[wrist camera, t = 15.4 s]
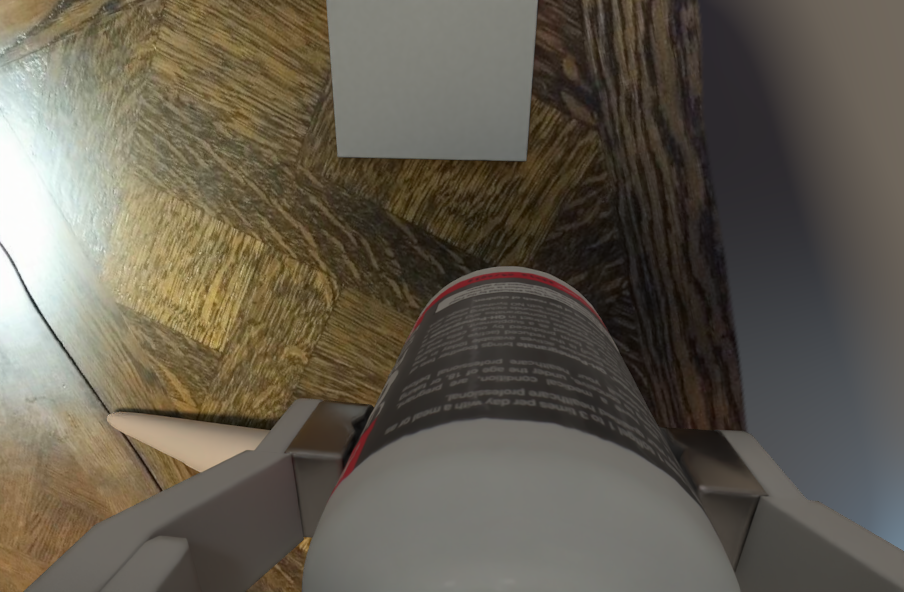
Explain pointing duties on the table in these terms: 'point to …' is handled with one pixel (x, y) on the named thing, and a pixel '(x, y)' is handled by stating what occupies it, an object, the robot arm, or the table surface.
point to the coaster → (432, 78)
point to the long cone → (188, 437)
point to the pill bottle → (513, 461)
